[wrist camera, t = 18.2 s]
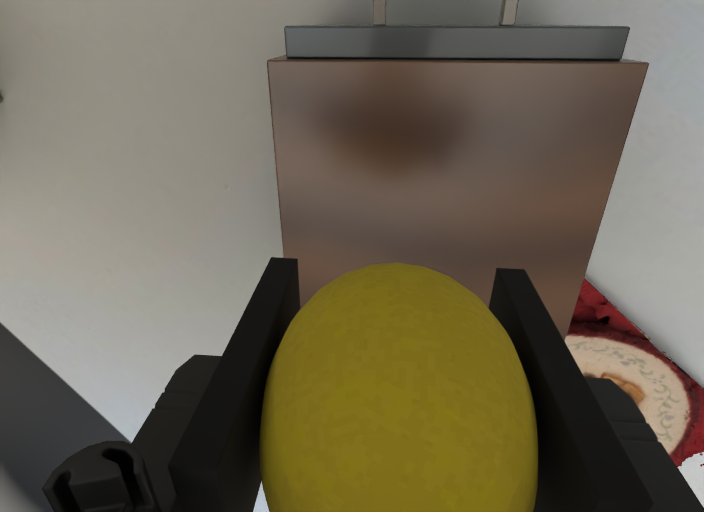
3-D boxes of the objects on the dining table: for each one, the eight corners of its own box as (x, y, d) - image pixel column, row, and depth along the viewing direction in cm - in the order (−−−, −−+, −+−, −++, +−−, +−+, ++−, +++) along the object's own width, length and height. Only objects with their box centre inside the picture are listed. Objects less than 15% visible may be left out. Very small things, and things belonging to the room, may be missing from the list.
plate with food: (557, 249, 32) (573, 272, 29) (743, 424, 38) (772, 458, 35) (353, 405, 42) (349, 435, 39) (526, 524, 48) (534, 558, 45)
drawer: (313, -65, 23) (274, -109, 15) (572, -68, 22) (670, -117, 15) (323, 245, 32) (303, 316, 24) (508, 251, 31) (548, 327, 24)
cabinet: (309, 46, 27) (266, 60, 17) (554, 47, 26) (650, 62, 16) (318, 266, 34) (292, 359, 25) (508, 273, 33) (555, 373, 24)
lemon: (283, 221, 12) (130, 509, 5) (490, 202, 11) (662, 508, 4) (318, 372, 14) (250, 702, 7) (487, 364, 14) (589, 722, 7)
